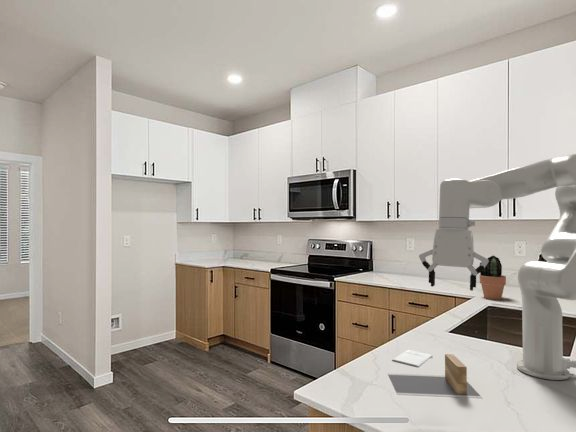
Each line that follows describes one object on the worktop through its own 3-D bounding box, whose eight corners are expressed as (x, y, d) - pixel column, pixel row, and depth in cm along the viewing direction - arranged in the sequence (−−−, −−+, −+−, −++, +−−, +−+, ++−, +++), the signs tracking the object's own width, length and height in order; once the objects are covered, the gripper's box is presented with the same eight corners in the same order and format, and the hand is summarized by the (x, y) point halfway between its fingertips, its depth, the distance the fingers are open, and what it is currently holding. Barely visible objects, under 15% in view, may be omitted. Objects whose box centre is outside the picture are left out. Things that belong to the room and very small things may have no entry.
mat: (461, 378, 102) (461, 376, 102) (482, 400, 89) (482, 398, 89) (387, 375, 103) (387, 373, 103) (397, 396, 90) (397, 394, 90)
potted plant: (504, 297, 219) (504, 254, 220) (507, 301, 207) (507, 256, 208) (478, 295, 225) (478, 253, 226) (480, 299, 212) (480, 255, 213)
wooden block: (453, 378, 100) (453, 354, 100) (466, 393, 91) (466, 367, 91) (445, 378, 100) (444, 354, 100) (457, 393, 91) (457, 366, 91)
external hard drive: (391, 364, 113) (407, 353, 123) (418, 371, 108) (432, 359, 117) (391, 359, 113) (407, 348, 123) (418, 365, 108) (432, 354, 118)
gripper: (489, 226, 100) (487, 289, 100) (422, 224, 108) (420, 283, 108) (490, 225, 94) (488, 293, 93) (418, 223, 102) (416, 286, 101)
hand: (451, 287), depth 100 cm, fingers open, 9 cm apart
